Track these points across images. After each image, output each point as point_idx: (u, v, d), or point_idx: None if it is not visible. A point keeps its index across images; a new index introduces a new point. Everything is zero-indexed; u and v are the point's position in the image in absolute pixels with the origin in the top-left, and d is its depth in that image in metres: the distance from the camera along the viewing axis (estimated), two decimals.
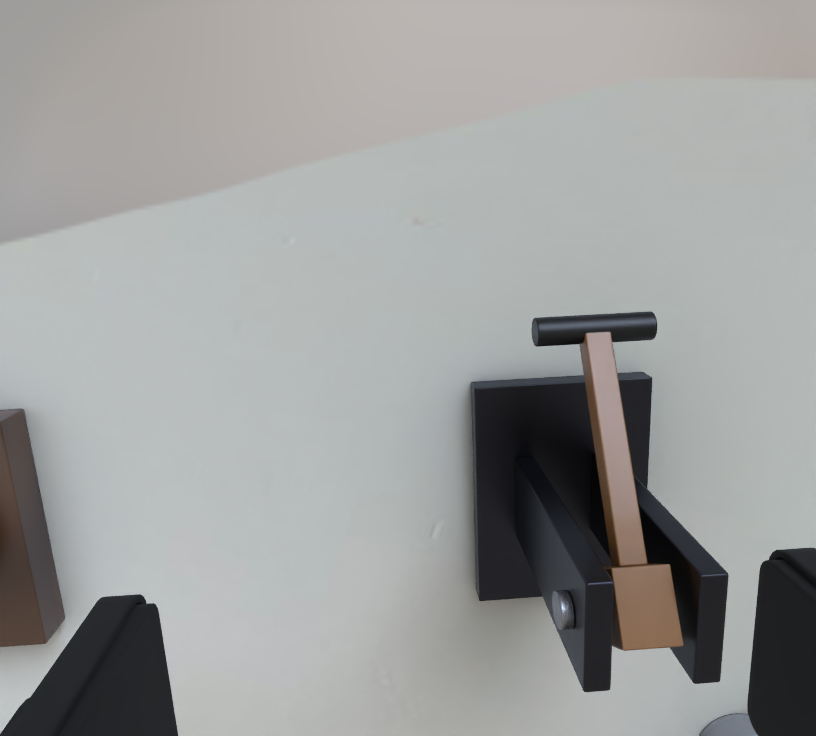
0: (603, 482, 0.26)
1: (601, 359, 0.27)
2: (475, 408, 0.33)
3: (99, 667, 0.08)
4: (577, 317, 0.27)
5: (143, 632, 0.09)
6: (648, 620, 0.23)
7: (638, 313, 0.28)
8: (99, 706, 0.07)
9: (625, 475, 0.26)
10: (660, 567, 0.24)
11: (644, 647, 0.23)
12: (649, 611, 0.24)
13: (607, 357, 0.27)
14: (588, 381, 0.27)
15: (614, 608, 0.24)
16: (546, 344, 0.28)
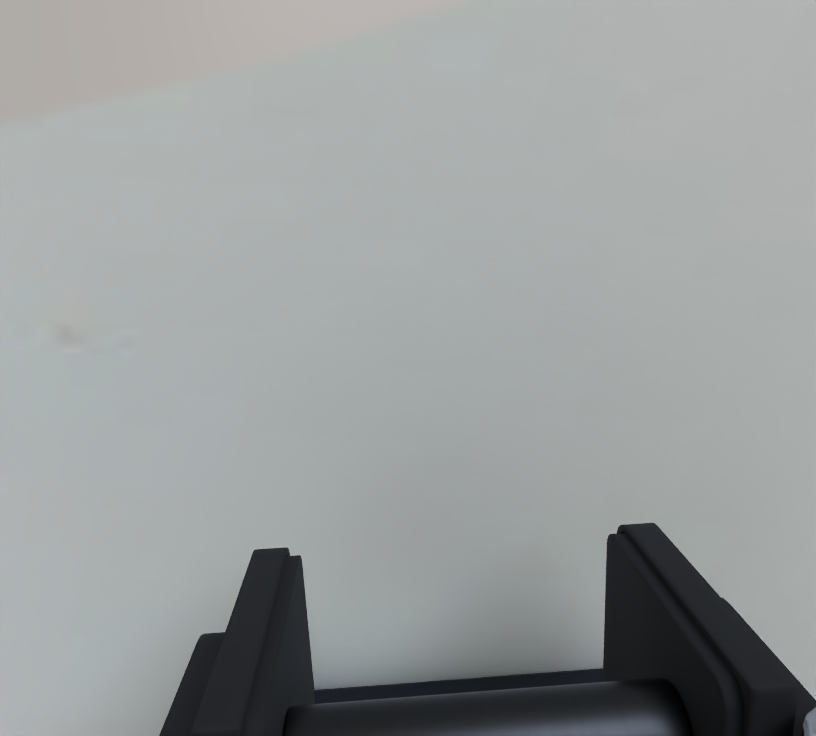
0: None
1: None
2: None
3: (275, 603, 0.09)
4: (424, 721, 0.08)
5: (297, 578, 0.10)
6: None
7: (632, 702, 0.08)
8: (284, 634, 0.09)
9: None
10: None
11: None
12: None
13: None
14: None
15: None
16: None
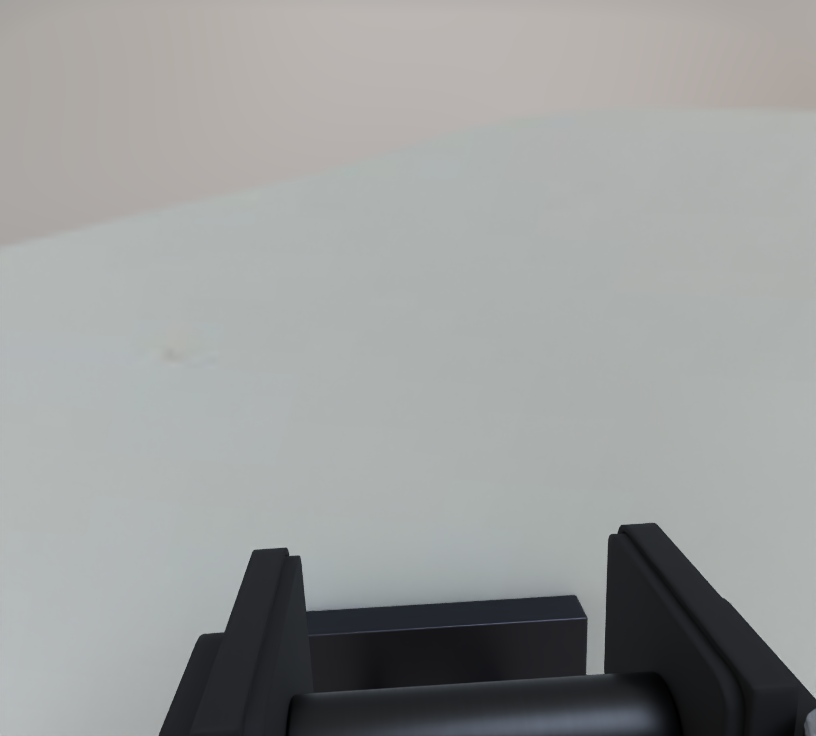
0: None
1: None
2: None
3: (274, 603, 0.09)
4: (424, 734, 0.08)
5: (296, 579, 0.10)
6: None
7: (629, 717, 0.08)
8: (283, 634, 0.09)
9: None
10: None
11: None
12: None
13: None
14: None
15: None
16: None
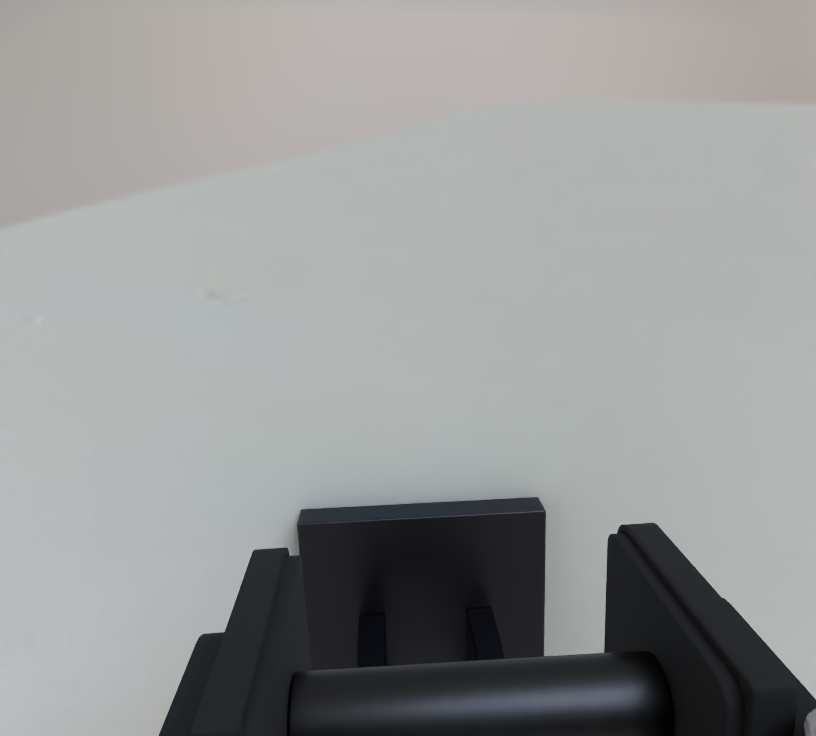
0: None
1: None
2: (300, 550, 0.24)
3: (275, 604, 0.09)
4: (423, 731, 0.08)
5: (296, 579, 0.10)
6: None
7: (625, 715, 0.08)
8: (283, 635, 0.09)
9: None
10: None
11: None
12: None
13: None
14: None
15: None
16: None
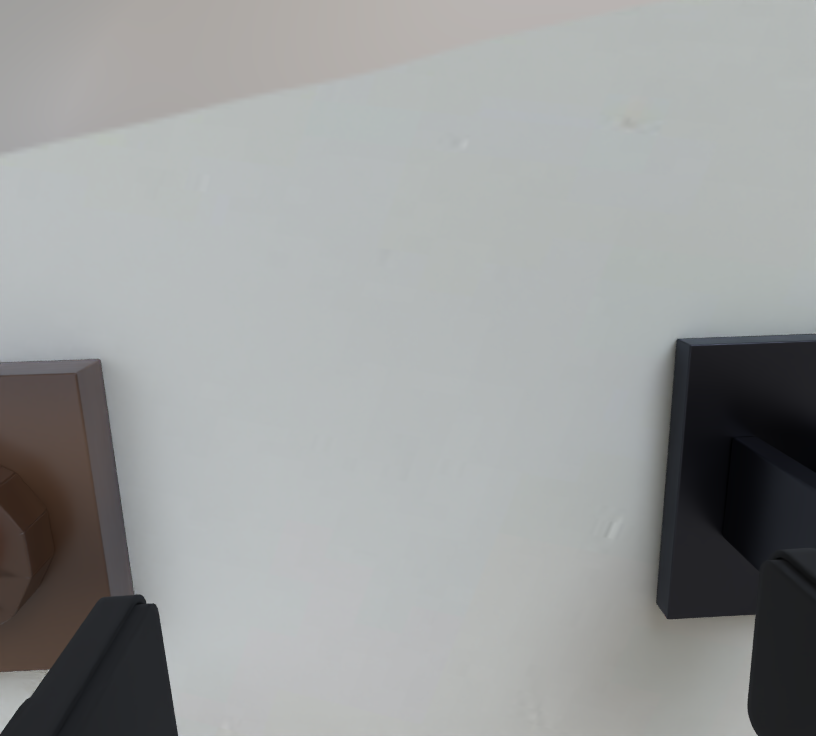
0: None
1: None
2: (688, 371, 0.25)
3: (99, 667, 0.08)
4: None
5: (143, 632, 0.09)
6: None
7: None
8: (99, 706, 0.07)
9: None
10: None
11: None
12: None
13: None
14: None
15: None
16: None
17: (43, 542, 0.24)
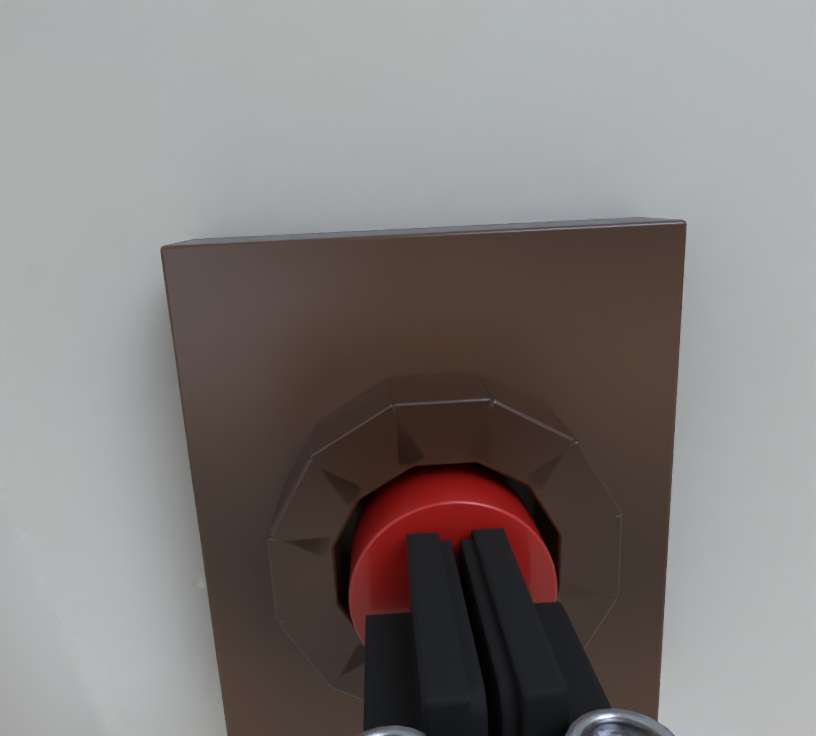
0: None
1: None
2: None
3: (448, 584, 0.09)
4: None
5: None
6: None
7: None
8: (466, 613, 0.09)
9: None
10: None
11: None
12: None
13: None
14: None
15: None
16: None
17: None
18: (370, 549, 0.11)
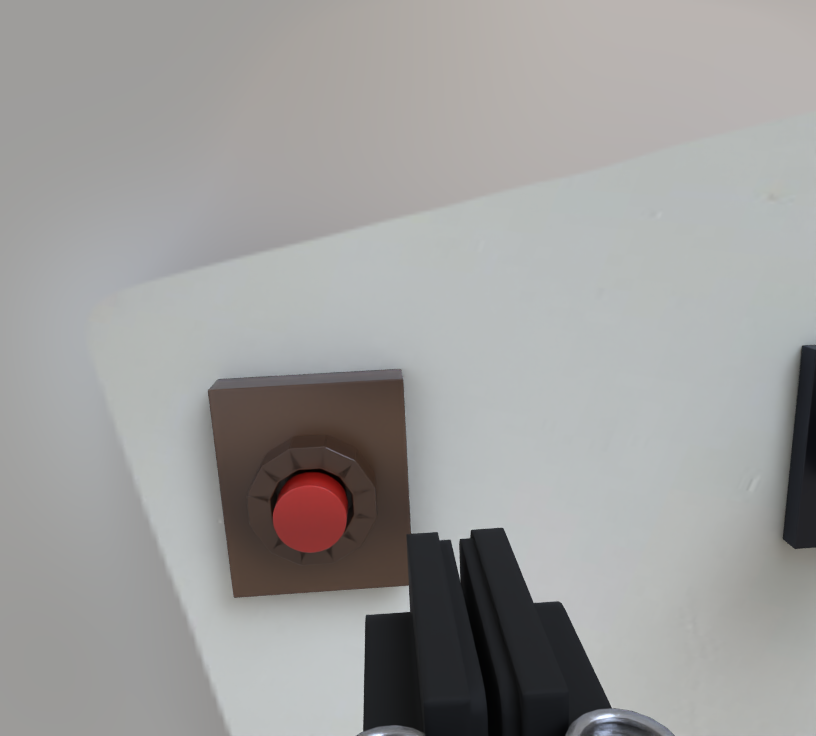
0: None
1: None
2: (814, 369, 0.36)
3: (448, 584, 0.09)
4: None
5: None
6: None
7: None
8: (466, 613, 0.09)
9: None
10: None
11: None
12: None
13: None
14: None
15: None
16: None
17: None
18: (279, 502, 0.32)
